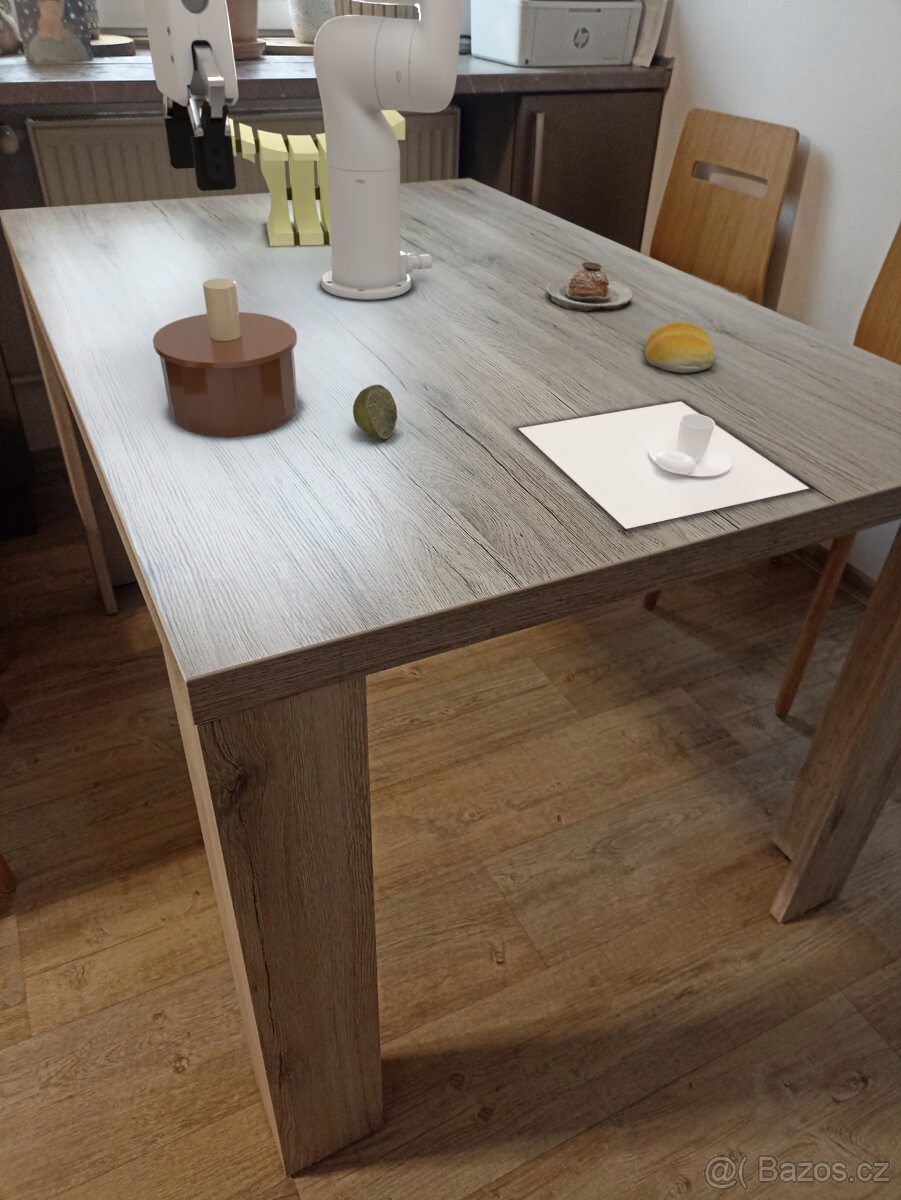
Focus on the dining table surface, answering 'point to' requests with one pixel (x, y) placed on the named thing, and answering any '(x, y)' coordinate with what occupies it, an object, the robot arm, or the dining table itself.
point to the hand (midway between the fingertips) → (202, 177)
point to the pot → (232, 397)
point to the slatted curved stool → (296, 180)
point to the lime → (375, 412)
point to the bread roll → (680, 348)
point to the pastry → (589, 290)
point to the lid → (224, 334)
